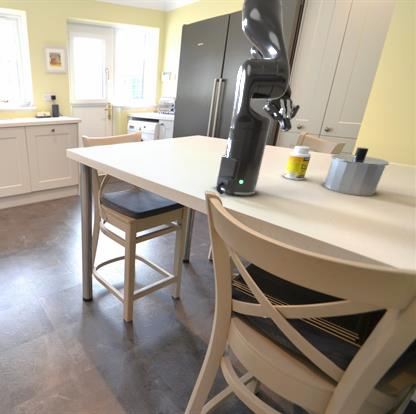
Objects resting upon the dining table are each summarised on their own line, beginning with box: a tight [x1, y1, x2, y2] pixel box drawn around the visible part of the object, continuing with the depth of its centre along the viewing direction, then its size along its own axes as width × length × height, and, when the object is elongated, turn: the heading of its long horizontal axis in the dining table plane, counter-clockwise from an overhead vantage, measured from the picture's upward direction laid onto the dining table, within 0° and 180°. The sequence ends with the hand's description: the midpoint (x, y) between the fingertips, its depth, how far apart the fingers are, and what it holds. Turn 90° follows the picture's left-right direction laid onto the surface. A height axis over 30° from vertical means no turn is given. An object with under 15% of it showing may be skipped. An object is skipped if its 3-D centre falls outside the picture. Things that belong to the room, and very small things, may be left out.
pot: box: [324, 158, 386, 197], centre depth 82 cm, size 11×11×8 cm
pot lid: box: [331, 146, 390, 167], centre depth 79 cm, size 12×12×4 cm
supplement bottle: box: [284, 145, 312, 181], centre depth 91 cm, size 6×6×10 cm
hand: (286, 130), depth 95 cm, fingers closed
